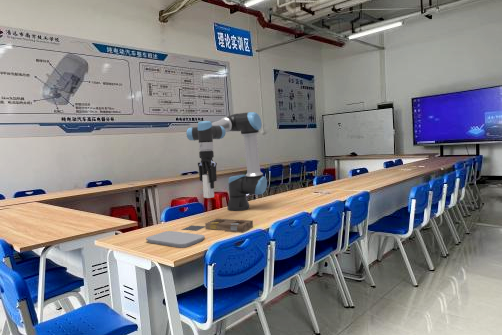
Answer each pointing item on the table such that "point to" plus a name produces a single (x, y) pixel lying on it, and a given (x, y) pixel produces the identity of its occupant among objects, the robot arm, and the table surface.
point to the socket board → (229, 225)
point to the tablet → (175, 239)
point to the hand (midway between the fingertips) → (208, 194)
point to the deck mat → (193, 228)
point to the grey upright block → (206, 186)
